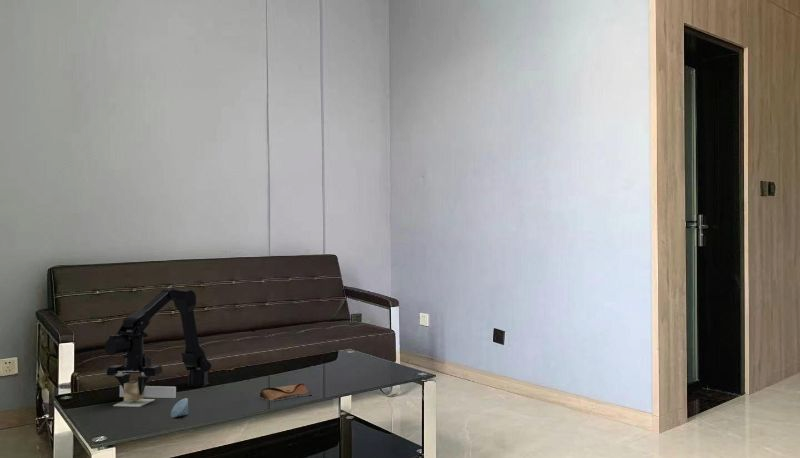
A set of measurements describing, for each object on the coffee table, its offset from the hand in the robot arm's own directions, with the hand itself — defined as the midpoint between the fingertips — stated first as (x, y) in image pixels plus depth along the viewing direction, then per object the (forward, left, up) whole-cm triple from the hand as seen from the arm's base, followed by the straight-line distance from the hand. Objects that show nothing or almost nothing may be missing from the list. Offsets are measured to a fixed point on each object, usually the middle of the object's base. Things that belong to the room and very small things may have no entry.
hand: (134, 394), depth 223 cm
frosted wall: (0, -9, -3) cm, 9 cm away
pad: (0, 0, -3) cm, 3 cm away
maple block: (0, 0, -2) cm, 2 cm away
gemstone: (-25, +15, -3) cm, 29 cm away
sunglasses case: (-52, -14, -4) cm, 54 cm away
